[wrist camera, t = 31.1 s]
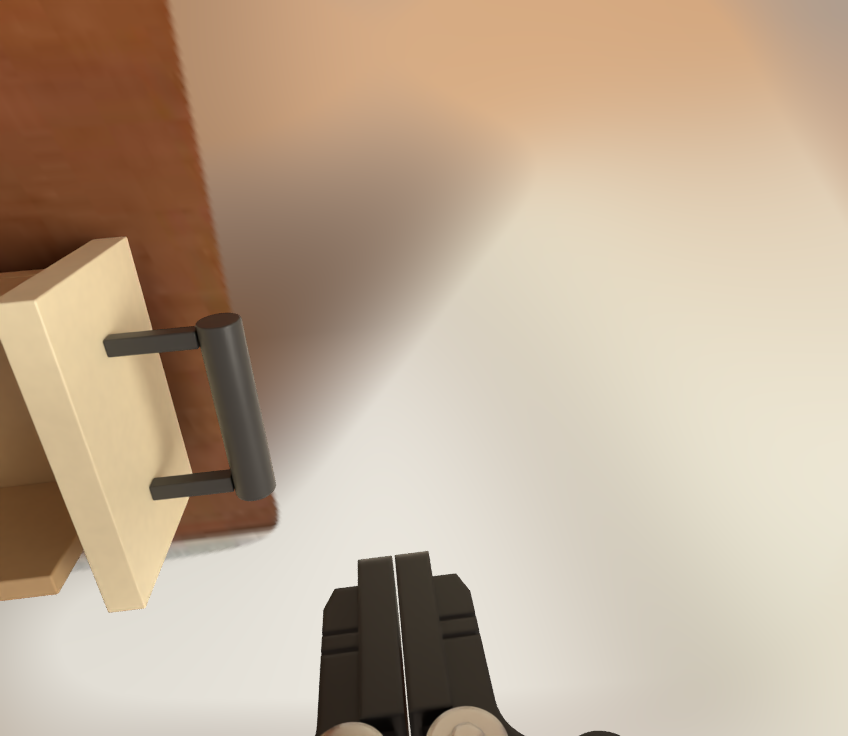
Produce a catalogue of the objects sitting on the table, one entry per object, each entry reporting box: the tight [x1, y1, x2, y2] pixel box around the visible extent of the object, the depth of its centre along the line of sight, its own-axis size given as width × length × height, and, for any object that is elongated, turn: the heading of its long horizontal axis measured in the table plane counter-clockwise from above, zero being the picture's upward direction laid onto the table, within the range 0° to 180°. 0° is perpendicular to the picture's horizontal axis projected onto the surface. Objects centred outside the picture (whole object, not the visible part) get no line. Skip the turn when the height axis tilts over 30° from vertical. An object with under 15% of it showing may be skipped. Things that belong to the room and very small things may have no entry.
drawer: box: [0, 237, 276, 613], centre depth 20 cm, size 16×11×7 cm
